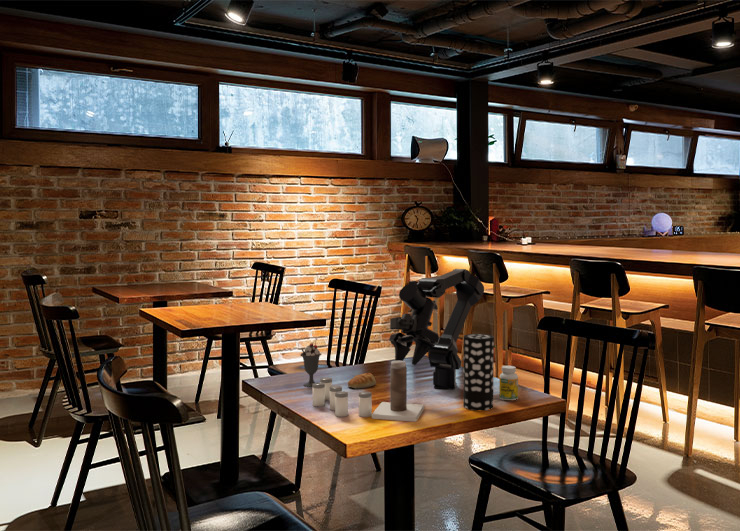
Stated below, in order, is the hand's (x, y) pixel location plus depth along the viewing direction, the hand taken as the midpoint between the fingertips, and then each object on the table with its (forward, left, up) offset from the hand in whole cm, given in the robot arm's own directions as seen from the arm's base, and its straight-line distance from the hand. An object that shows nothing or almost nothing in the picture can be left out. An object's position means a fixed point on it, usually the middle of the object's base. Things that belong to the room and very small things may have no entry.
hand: (404, 365), depth 187 cm
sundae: (+33, -13, -11) cm, 37 cm away
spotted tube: (-21, -1, -11) cm, 24 cm away
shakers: (+17, +10, -11) cm, 23 cm away
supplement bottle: (-29, -11, -11) cm, 33 cm away
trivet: (0, +11, -11) cm, 16 cm away
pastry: (+17, -16, -11) cm, 26 cm away
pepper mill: (0, +11, -10) cm, 15 cm away
